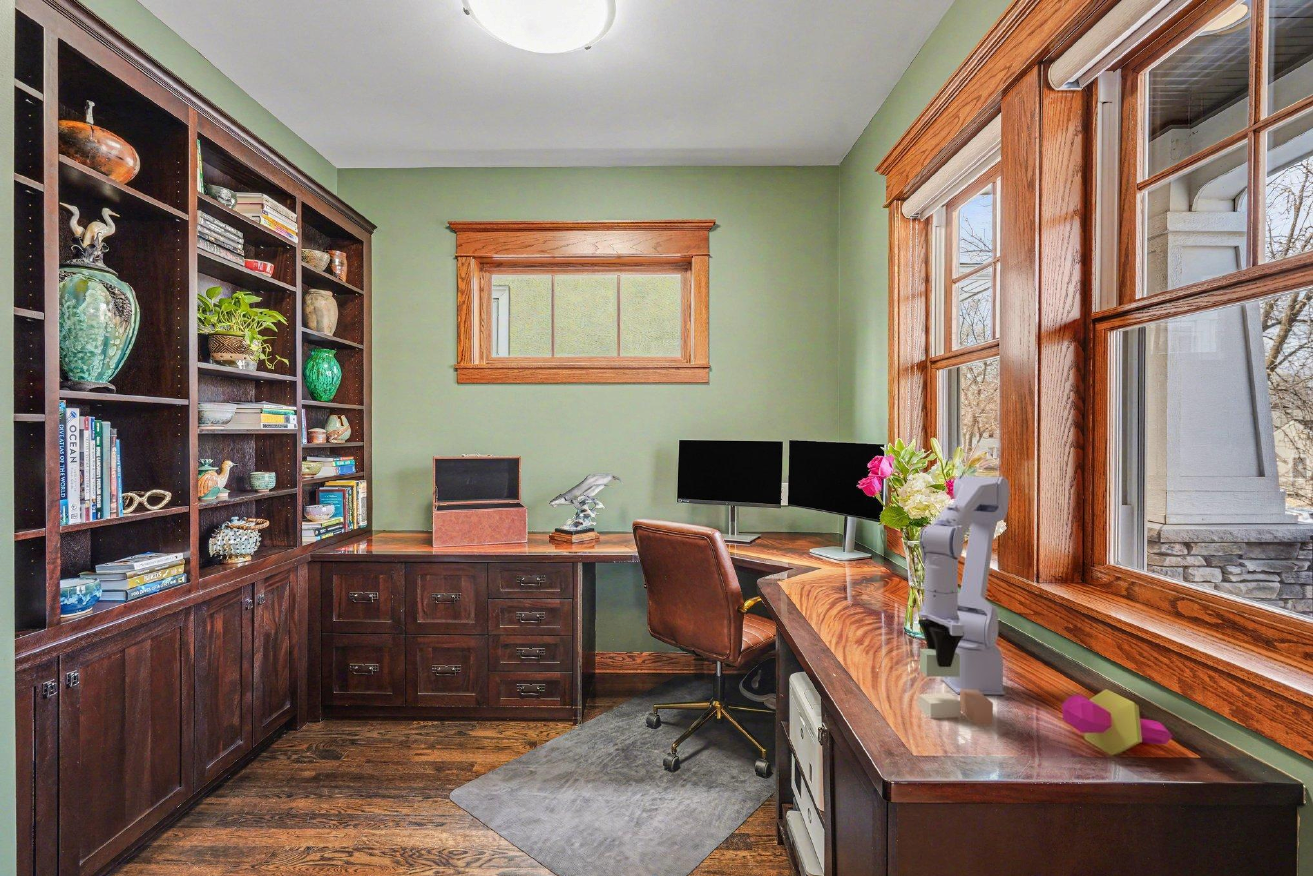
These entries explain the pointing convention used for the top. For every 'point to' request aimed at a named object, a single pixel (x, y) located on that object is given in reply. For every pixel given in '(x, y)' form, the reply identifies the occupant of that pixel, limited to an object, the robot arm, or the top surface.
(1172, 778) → the top surface
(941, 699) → the cream brick
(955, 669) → the green brick
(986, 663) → the robot arm
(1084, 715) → the toy
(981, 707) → the terracotta brick
